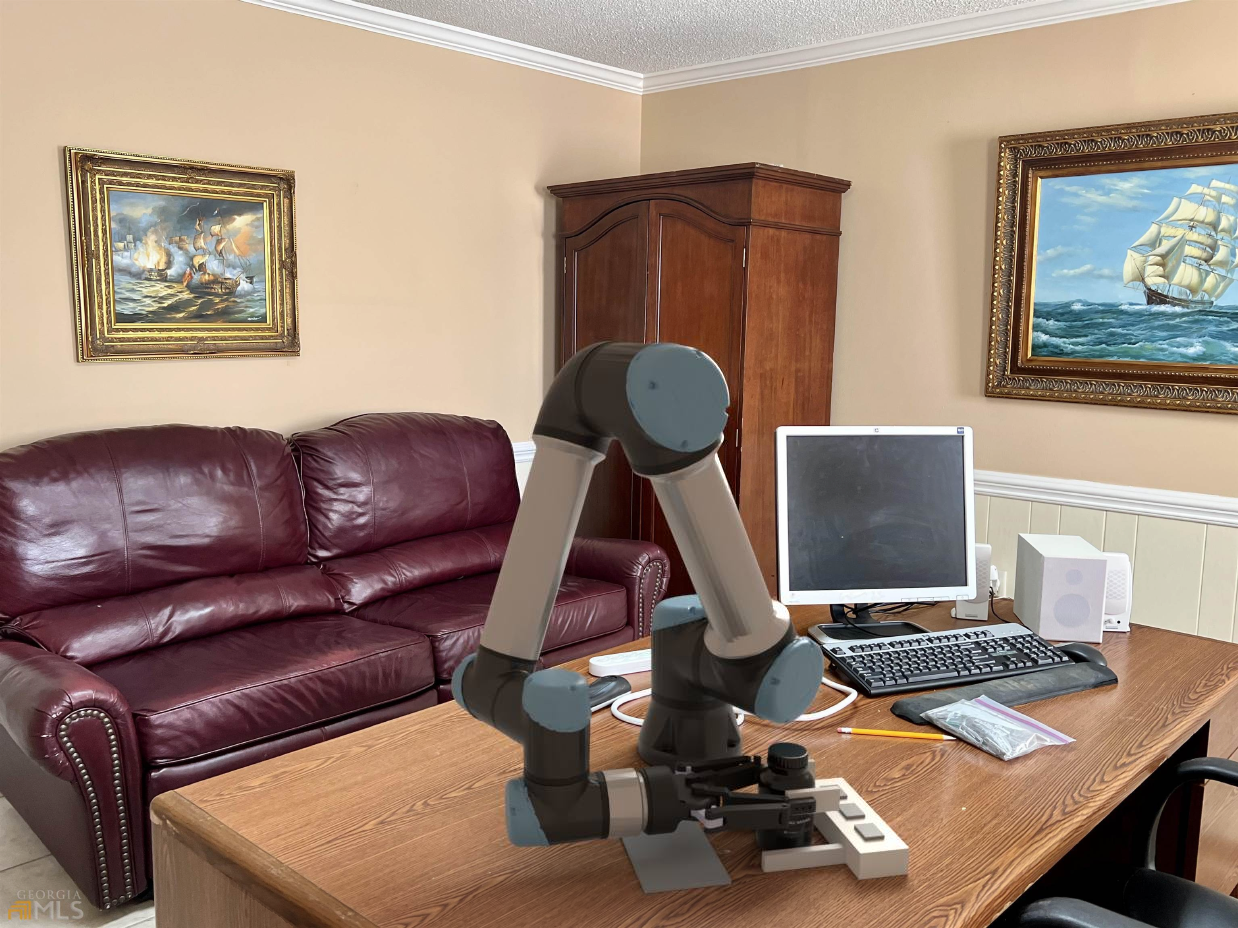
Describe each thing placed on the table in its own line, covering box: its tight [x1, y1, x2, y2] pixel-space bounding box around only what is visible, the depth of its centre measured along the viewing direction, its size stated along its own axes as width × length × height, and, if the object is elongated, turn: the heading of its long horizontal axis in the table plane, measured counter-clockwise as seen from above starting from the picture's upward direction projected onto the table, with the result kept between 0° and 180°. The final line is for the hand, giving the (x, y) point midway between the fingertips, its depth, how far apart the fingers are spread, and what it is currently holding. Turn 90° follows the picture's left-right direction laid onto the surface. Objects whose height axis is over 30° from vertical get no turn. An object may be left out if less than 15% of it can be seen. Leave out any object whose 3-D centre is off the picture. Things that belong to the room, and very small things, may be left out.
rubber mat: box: [621, 820, 732, 895], centre depth 118 cm, size 14×10×1 cm
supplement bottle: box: [755, 741, 816, 852], centre depth 120 cm, size 7×7×12 cm
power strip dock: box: [761, 777, 910, 881], centre depth 121 cm, size 18×16×4 cm
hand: (825, 783), depth 121 cm, fingers closed on supplement bottle, 7 cm apart
